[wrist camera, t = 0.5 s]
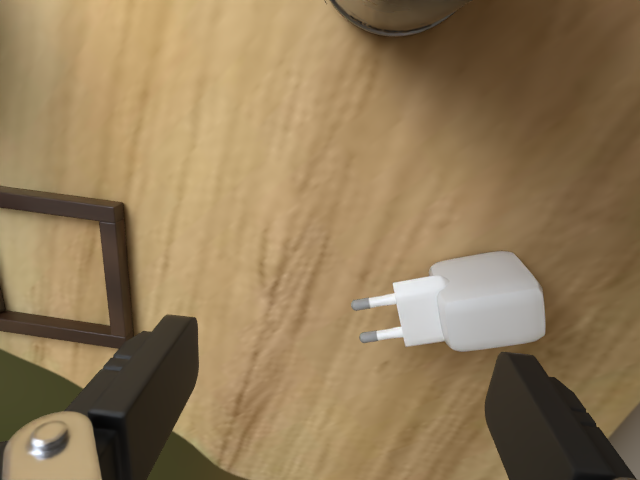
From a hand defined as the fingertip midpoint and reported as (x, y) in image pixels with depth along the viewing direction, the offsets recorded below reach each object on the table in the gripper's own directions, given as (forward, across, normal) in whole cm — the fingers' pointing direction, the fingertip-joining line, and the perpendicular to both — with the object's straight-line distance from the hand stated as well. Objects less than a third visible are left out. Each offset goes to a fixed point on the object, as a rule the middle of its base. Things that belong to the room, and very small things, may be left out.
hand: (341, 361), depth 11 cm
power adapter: (+18, -7, +6) cm, 20 cm away
